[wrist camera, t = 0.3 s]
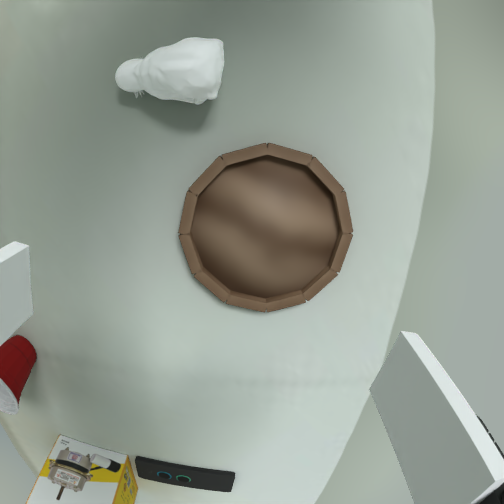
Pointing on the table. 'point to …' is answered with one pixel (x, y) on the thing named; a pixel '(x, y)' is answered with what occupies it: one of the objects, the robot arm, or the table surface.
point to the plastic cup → (14, 371)
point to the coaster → (265, 227)
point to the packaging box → (84, 476)
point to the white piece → (176, 71)
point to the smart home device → (184, 475)
